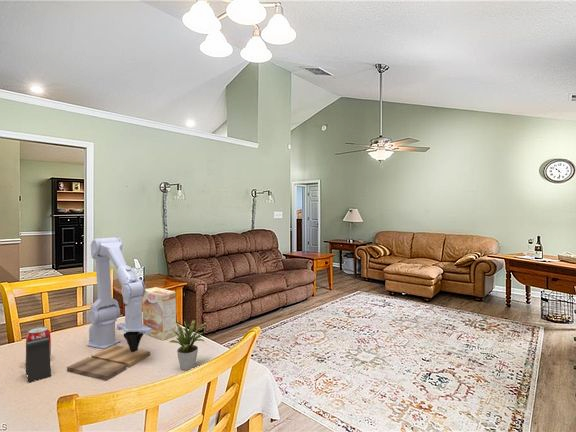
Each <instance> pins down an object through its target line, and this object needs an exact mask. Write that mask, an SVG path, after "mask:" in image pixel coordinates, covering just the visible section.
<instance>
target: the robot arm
mask: <svg viewBox="0 0 576 432" xmlns="http://www.w3.org/2000/svg"><path fill="white" fill-rule="evenodd" d="M122 250H123V241H122V239H121V238H120V236H116V237H115V236H113V237H101V238H97V237H96V238H93V240H92V241H91V244H90V255H91V259H93V260H95V273H96V274H95V276H96V286H97V287H96V288H97V291H96V292H97V299H96V300H95V301H94V302H93V303H92V304H91V305H90V307H89V308H90V310H89V321H90V323H91V324H90V325H89V328H88V339H89V340H88V342H89V343H87V344H86V345H87V346H89V347H93V348H97V349H102V350H104V349H106V348H109V347H111V346H113V345H117V344H118V343H120V342H121V340H120V339H116V330H117V331H120V330H121V331H123V335H122V336H123V338H124V339H125V341H126V342H127V344H128V348H130V351H131V352H135V351H137V350H138V349H139V346H140V341H141V340H142V337H143V336H144V335H146V336H150V335H149V334H151V333H152V332H151V328H149V327H147V326H145V325H143V295H144V294H145V289H146V285H145V283H144V281H143V280H142V279H140V278H138V277H137V276H136V273H135V271H134V269H133V268H132V267H131V265H127V263H126V260H125V257H124V255H123V252H122ZM110 262H112V264H113V265H114V267H115V268H116V272H115V275H116V277H117V280H118V282H119V283H120V286H121V289H120V290H121V291H120V292H121V295H122V299H123V300H122V302H123V304H124V323H122V322H121V323H118V324H116V322H117V321H118V319H119V317H120V315H121V309H120V306H119V302H118V301H117V299H115V298H112V282H111V281H112V280H111V279H112V278H111V265H110V264H111V263H110Z"/></svg>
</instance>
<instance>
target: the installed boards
mask: <svg viewBox="0 0 576 432" xmlns="http://www.w3.org/2000/svg"><path fill="white" fill-rule="evenodd" d="M126 370H127V367H126V365H124V364H119V363H115V362H110V361H105V360H100V359H96V358H91V356H90V357H89V356H88V357H85V358H83V359H82V360H79V361H77V362H75V363H72V364H71V365H68V366H66V372H68V373H72V374H76V375H81V376H86V377H87V378H94V379H97V380H101V381H108V380H111V379H112V378H114V377H116V376H117V375H119V374H121V373H123V372H124V371H126Z"/></svg>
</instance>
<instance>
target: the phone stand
mask: <svg viewBox="0 0 576 432" xmlns="http://www.w3.org/2000/svg"><path fill="white" fill-rule="evenodd" d="M26 374H27V375H28V378H27V377H26V379H28V380H27V383H28V382H30V383H32V382H31V381H33V382H35V381H34V380H37V381H40V380H43V378H44V379H46V378H50V377H52V367H51V357H50V351H49V337H44V338H40V339H35V340H31V341H26V340H25V375H26ZM39 379H40V380H39Z"/></svg>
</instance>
